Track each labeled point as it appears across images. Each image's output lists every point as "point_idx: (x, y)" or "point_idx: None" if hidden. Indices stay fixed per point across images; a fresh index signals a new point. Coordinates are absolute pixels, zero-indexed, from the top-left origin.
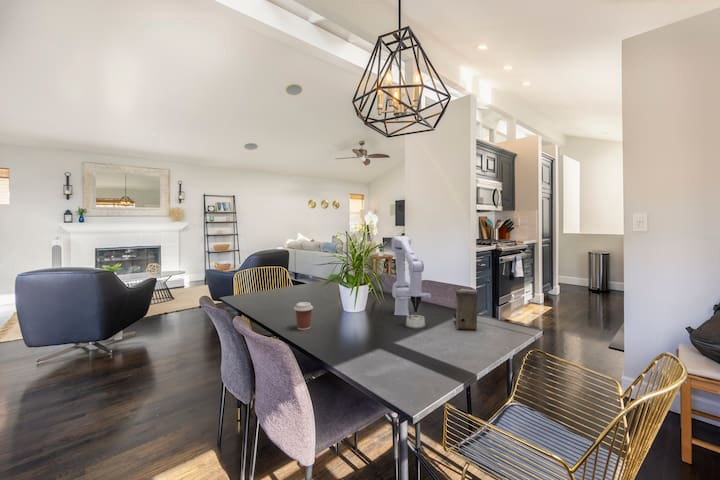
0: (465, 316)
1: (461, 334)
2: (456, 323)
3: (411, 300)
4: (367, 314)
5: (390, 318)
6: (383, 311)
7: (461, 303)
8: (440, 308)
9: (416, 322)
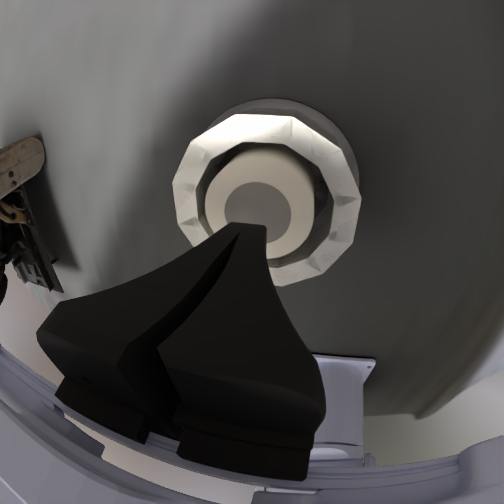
0: None
1: (31, 75)
2: (28, 171)
3: (302, 357)
4: (484, 356)
5: (416, 319)
6: (402, 391)
7: None
8: None
9: (261, 111)
